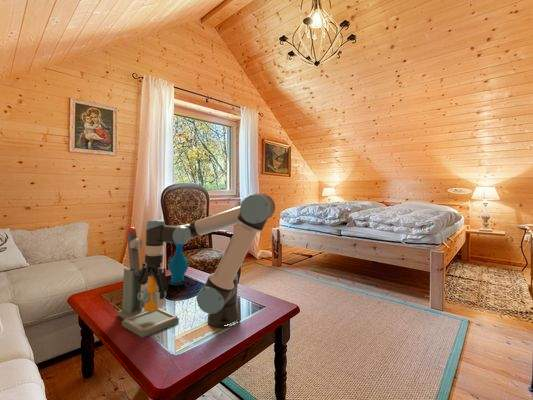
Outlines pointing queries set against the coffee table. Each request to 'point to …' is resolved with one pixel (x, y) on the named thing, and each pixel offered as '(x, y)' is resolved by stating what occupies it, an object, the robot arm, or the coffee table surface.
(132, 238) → the press lever
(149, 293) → the cylinder
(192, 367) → the coffee table surface
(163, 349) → the coffee table surface
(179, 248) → the vase
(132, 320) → the press frame
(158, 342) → the coffee table surface
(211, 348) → the coffee table surface
